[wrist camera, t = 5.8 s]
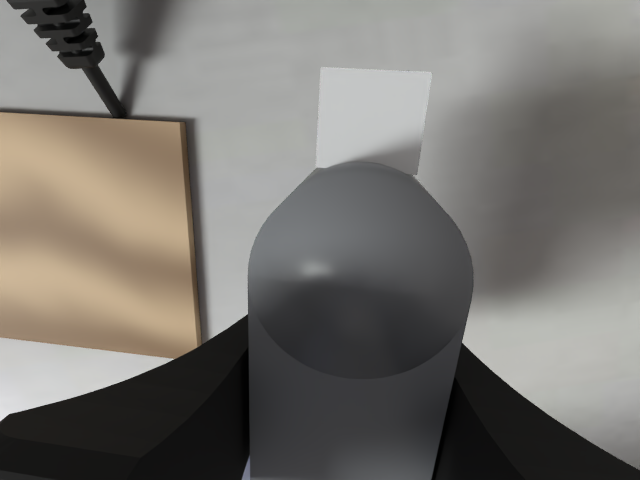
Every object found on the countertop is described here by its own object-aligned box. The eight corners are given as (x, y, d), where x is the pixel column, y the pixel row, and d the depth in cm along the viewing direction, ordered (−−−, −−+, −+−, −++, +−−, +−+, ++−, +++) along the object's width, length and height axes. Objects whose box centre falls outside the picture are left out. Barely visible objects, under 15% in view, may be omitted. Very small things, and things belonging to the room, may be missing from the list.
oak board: (202, 355, 22) (198, 361, 22) (2, 331, 24) (-7, 336, 23) (185, 122, 18) (179, 122, 17) (-63, 108, 19) (-77, 108, 18)
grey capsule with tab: (388, 442, 14) (402, 608, 9) (288, 427, 14) (251, 581, 9) (445, 87, 10) (525, 55, 5) (301, 80, 10) (245, 44, 5)
